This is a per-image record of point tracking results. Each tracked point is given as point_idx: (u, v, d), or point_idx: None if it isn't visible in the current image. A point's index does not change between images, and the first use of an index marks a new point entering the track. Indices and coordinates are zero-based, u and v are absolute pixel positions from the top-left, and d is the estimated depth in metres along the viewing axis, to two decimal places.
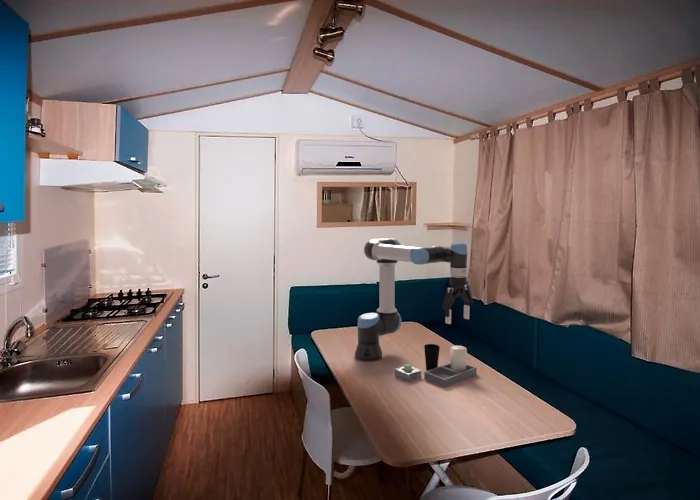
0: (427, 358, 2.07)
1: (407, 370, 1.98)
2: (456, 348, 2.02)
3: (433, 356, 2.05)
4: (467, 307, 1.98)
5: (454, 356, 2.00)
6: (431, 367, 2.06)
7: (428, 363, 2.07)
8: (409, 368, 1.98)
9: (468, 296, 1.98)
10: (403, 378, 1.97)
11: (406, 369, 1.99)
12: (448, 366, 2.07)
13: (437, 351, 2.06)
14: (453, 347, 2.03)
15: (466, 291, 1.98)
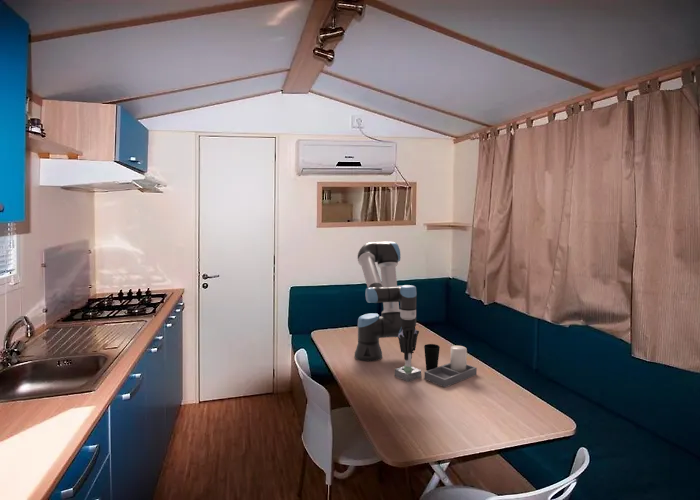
0: (427, 358, 2.07)
1: (407, 371, 1.98)
2: (456, 348, 2.02)
3: (433, 356, 2.05)
4: None
5: (454, 356, 2.00)
6: (431, 367, 2.06)
7: (428, 363, 2.07)
8: (409, 369, 1.98)
9: (413, 341, 2.01)
10: (403, 378, 1.97)
11: (406, 370, 1.99)
12: (448, 366, 2.07)
13: (437, 351, 2.06)
14: (453, 347, 2.03)
15: (414, 335, 2.01)
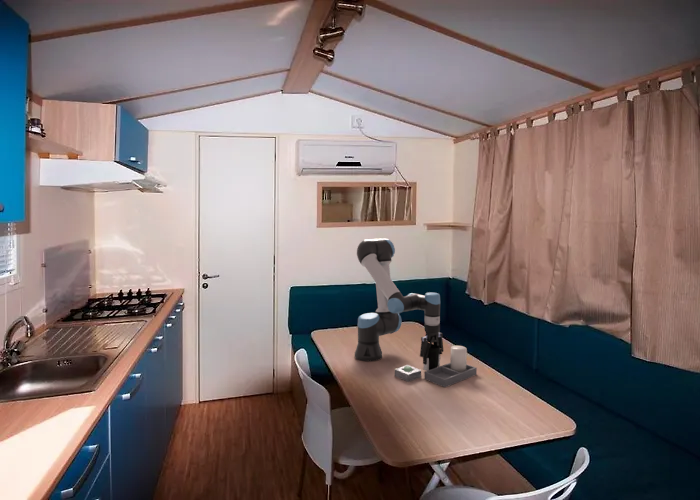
0: None
1: None
2: (456, 348, 2.02)
3: (433, 356, 2.05)
4: None
5: (454, 356, 2.00)
6: (431, 367, 2.06)
7: None
8: (409, 370, 1.98)
9: (440, 344, 2.11)
10: (403, 378, 1.97)
11: (406, 371, 1.99)
12: (448, 366, 2.07)
13: (437, 351, 2.06)
14: (453, 347, 2.03)
15: (439, 338, 2.11)
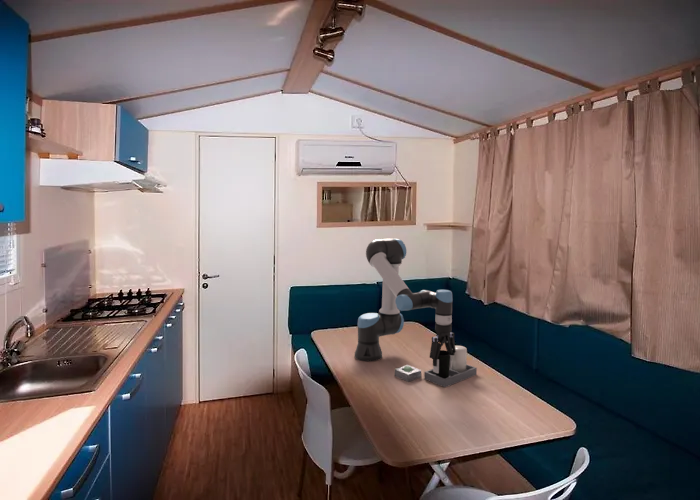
0: None
1: None
2: (456, 348, 2.02)
3: (444, 364, 1.92)
4: None
5: (454, 356, 2.00)
6: (442, 375, 1.93)
7: (439, 371, 1.94)
8: (409, 370, 1.98)
9: (452, 344, 1.98)
10: (403, 378, 1.97)
11: (406, 371, 1.99)
12: None
13: (448, 358, 1.92)
14: None
15: (450, 339, 1.98)
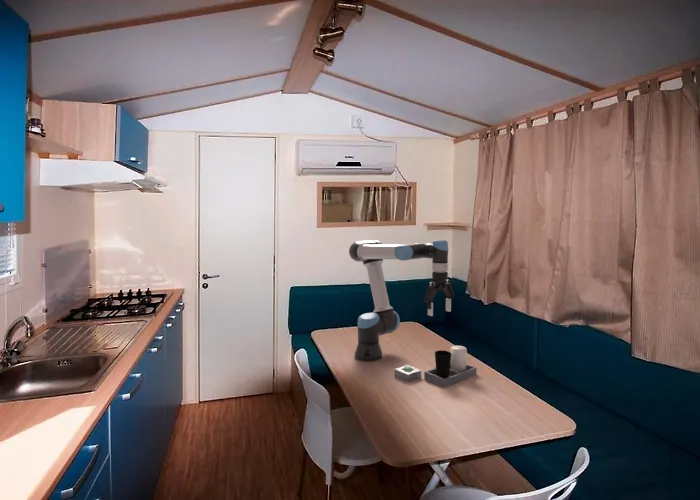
0: (438, 366, 1.94)
1: None
2: (456, 348, 2.02)
3: (444, 364, 1.92)
4: (449, 300, 2.10)
5: (454, 356, 2.00)
6: (442, 375, 1.93)
7: (439, 371, 1.94)
8: (409, 370, 1.98)
9: (450, 290, 2.10)
10: (403, 378, 1.97)
11: (406, 371, 1.99)
12: None
13: (449, 358, 1.93)
14: (453, 347, 2.03)
15: (448, 285, 2.09)
